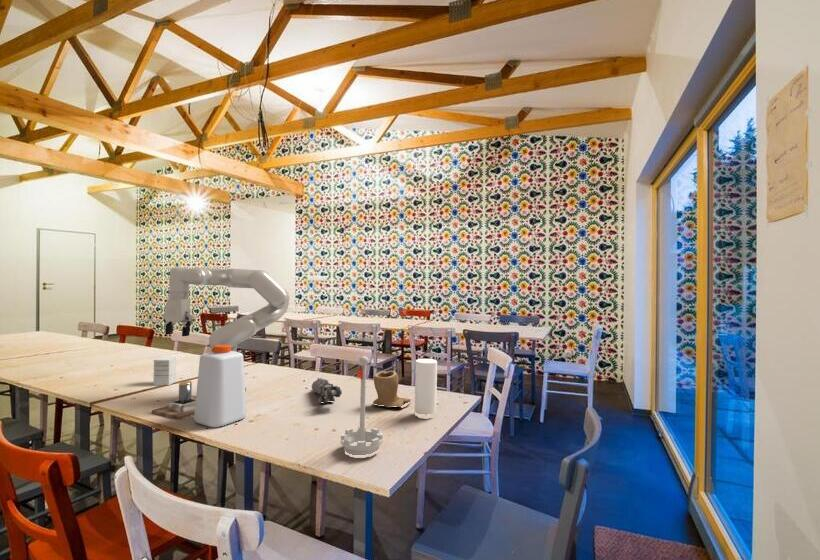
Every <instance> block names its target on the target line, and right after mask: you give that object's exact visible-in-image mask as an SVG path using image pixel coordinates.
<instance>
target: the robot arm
mask: <svg viewBox="0 0 820 560" xmlns="http://www.w3.org/2000/svg"><path fill="white" fill-rule="evenodd" d="M168 282H169V283H168V284H169V285H168V287H169V288H168V298H167V300H166V304H165V310H164V313H163V314H162V315H161V317H162V320H163V322H164V326H165V331H164V332H165V333H164V334H165V335H172V334H174V324H173V323H181V324H182V327H181V329H182V330H181V332H182V333H181V336H182V337H189V336H190V330H191V329H190V327H191V326H192V324H194V323H193V322H194V320H195V316H193V315H192V314H191V305H190V298H189V296H190V285H193V286H201V285H202V286H203V285H204V286H222V287H223V286H224V287H228V288H235V289H236V288H237V289H253V290H255V292H257V293H258V294H259V295H260V296H261V297H262V298H263V299H264V300H265V301H266V302H267V303H268V304H266V305H264V306H263V307H261V308H259V309H257V310H256V311H253V312H251V313H249V314H246V315H243V316H241V317H240V318H237V319H235V320H234V321H231V322H229V323H227V324H225V325H222V326H220V327H218V328H216V329H215V330H213V331H212V332H211V333H210V335H209V337H208V343H209V346H210V347H211V348H212V349H213V347H214V346H215V345H223V344H226V345H230V346H231V351H235V352H238V351H237V349H238V344H241V343H242V342H245V341H246V340H248V339H250V338H252V337H253V336H254V335H256V333H257V332H259V331H261V330H262V329H264V328H267V327H268V326H271V325H272V324H275V322H277V321H279V320H280V319H281V318H283V316H284V315H285V314H286V313H287V311H288V308H289V305H290V295H289V292H288V291H287V289H284V288H282V287H281V286H280V285H279V284H278V283H277V282H276V281H275V280H274V279H273V278H271V276H270V274H269V272H267V271H266V270H263V269H247V268H245V269H244V268H243V269H242V268H228V269H223V268H222V269H219V268H217V269H216V268H204V267H192V268H190V267H189V268H188V267H171V268H170V270H169V281H168ZM245 392H247V387H246V386H245Z"/></svg>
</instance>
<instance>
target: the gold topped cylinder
mask: <svg viewBox="0 0 820 560" xmlns="http://www.w3.org/2000/svg"><path fill="white" fill-rule="evenodd" d="M192 382H193V381H190V380H183V381H180V382H179V383H178V399H179V404H187V403H190V402H191V398H192V387H193V386H192V385H193V383H192Z"/></svg>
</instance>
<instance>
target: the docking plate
mask: <svg viewBox="0 0 820 560" xmlns="http://www.w3.org/2000/svg"><path fill="white" fill-rule="evenodd" d="M195 403H196V397H195V398H194V397H191V402H190V403H187V404H179V398H177V399H175V400H172V401H168V405H165V406H162V407H158V408H155V409H152V410H151V414H154V415H158V416H161V417H165V416H166V418H170V417H171V418H170V419H174V418H175V420H178V419H179V420H178V421H180V419H181V420H184V419H186V417H187V418H190V417H192V416H191V415H193V416H194V413H195ZM189 416H190V417H189ZM183 418H184V419H183Z"/></svg>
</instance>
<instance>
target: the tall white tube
mask: <svg viewBox="0 0 820 560" xmlns="http://www.w3.org/2000/svg"><path fill="white" fill-rule="evenodd" d="M430 327H431V325H430V326H429V328H430ZM430 330H431V332H432V333H433V336H435V335H436V333H435V331H434V329H433V328H430ZM432 350H433V348H429V349H427V350H426V351H425V352H423V353H421V354H420V357H424V356H426V354H428V353H429V352H431V351H432ZM414 374H415V376H414V377H415V378H414V379H415V381H414V382H415V383H414V384H415V385H414V386H415V387H414V413H415V412H416V413H418V414H425V415H427V414H433V413H435V412H436V413H437V389H438V388H437V385H438V361H437V360H436V359H434V358H433V359H432V358H418V359H416V360H415V373H414Z"/></svg>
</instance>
